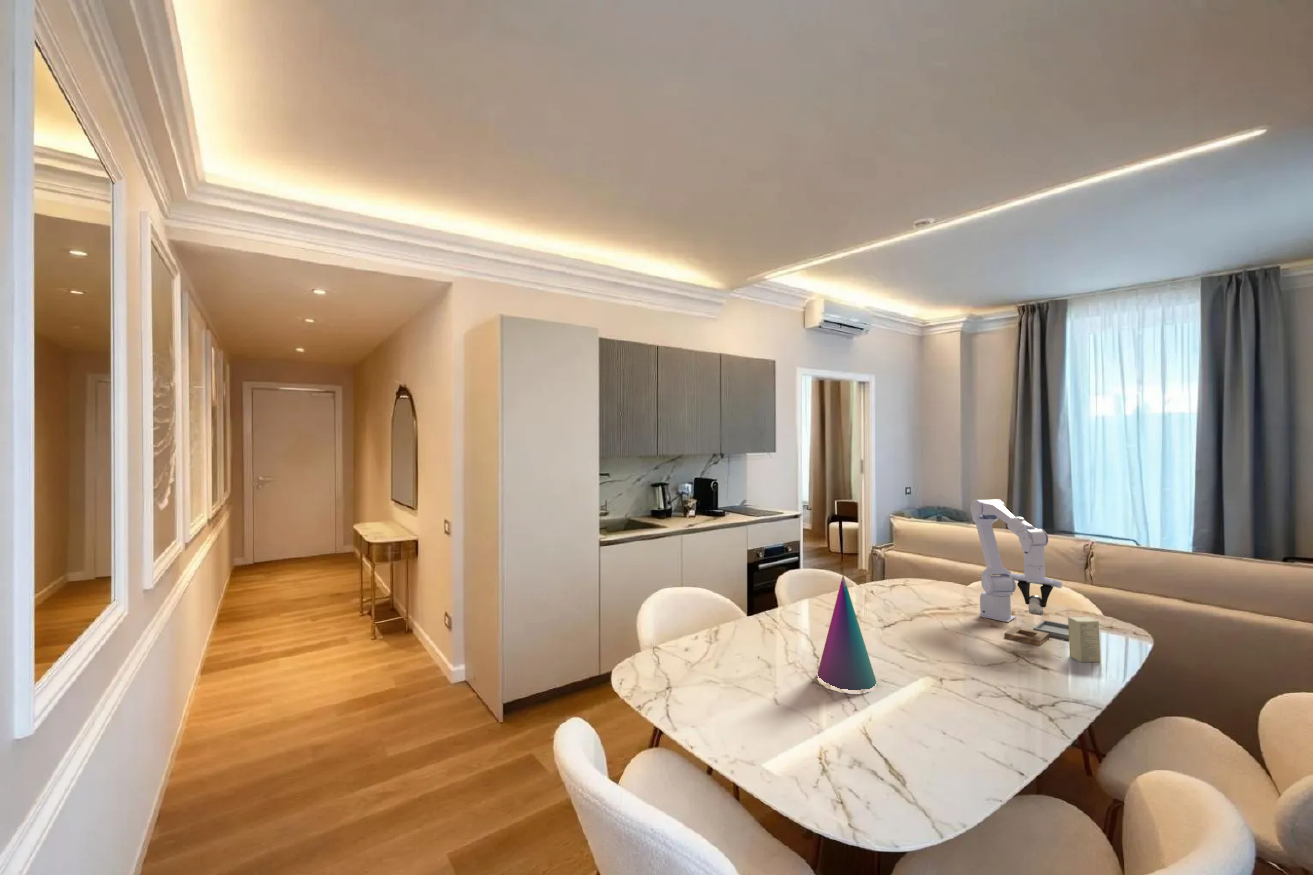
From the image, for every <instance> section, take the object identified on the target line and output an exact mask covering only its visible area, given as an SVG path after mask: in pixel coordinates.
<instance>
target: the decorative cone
mask: <svg viewBox="0 0 1313 875" xmlns="http://www.w3.org/2000/svg"><path fill="white" fill-rule="evenodd" d="M846 582H847V581H846V579H845V576H844V574H842V578H841V581H840V584H839V588H838V592H837V596H836V600H835V604H834V607H833V612H832V616H831V620H830V622H829V623H830V624H829V627H828V631H827V636H826V638H825V639H826V640H825V642H824V643H825V644H824V647H823V649H822V650H823V652H822V654H821V658H820V663H819V667H818V669H817V673H818V676H819V678H821V679H822V680H823V681H824V682H826V683H829V684H830V685H832V686H835V687H837V688H840V689H848V690H861V689H870V688H872V687H873V686H875V684H876V682H877V680H876V676H875V673H874V669H873V666H872V663H871V660H870V657H869V654H868V650H867V648H866V644H865V641H864V637H863V634H862V630H861V628H860V624H859V621H858V618H857V615H856V611H855V608H854V604H853V601H852V599H851V595H850V592H849V589H848V585H847V583H846Z"/></svg>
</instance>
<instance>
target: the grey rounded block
mask: <svg viewBox="0 0 1313 875" xmlns="http://www.w3.org/2000/svg"><path fill="white" fill-rule="evenodd" d="M1027 605H1028V613H1029V614H1032V615H1037V616H1043V615H1044V607H1042V596H1039V595H1037V594H1032V595H1030V597H1029V599H1028V604H1027Z"/></svg>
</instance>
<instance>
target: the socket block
mask: <svg viewBox="0 0 1313 875" xmlns="http://www.w3.org/2000/svg"><path fill="white" fill-rule="evenodd" d="M1003 634H1004V638H1005V637H1006V638H1005V639H1009V638H1010V639H1009V640H1014V641H1018V642H1023V643H1026V642H1027V644H1031V645H1035V646H1036V645H1037V646H1042V645H1043V644H1045V642H1047V641H1048V640H1049V639H1050V636H1049V633H1045V632H1040V631H1036V630H1033V629H1030V628H1025V627H1021V626H1016V625H1014V626H1012V627H1011V628H1009V629H1008V630H1007V631H1005V632H1004V633H1003Z"/></svg>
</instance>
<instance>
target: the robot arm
mask: <svg viewBox="0 0 1313 875" xmlns="http://www.w3.org/2000/svg"><path fill="white" fill-rule="evenodd" d="M969 509H970V514H971V518H972V521H973V522H974V523H975V525H976V530H977V534H978V538H979V543H980V546H981V550H982V554H983V557H984V562H985V565H986V568H985V569H984V570H983V571H982V572H981V573H980V575H981V576H980V577H981V582H980V583H981V587H982V589H983V591H981V593H980V595H979V613H980V614H979V617H982V618H986V619H989V620H990V619H992V620H996V621H1000V622H1005V623H1010V622H1011V621H1012V620H1014V619H1015V618H1016V616H1015V615H1012V609H1011V608H1012V601H1011V598H1012V597H1011V596H1013V593H1014V592H1016V588H1017V587H1018V589H1019V590H1020V592H1021V594H1022V596H1023V600H1024V604H1025V605H1028V599H1029V597H1030V596H1031V595H1030V593H1031V592H1030V590H1031V589H1030V588H1031V584H1034V585H1040V587H1039V589H1040V594H1041V596H1040V597H1041V599H1042V607H1043V609H1044V608H1047V604H1048V603H1047V602H1048V599H1049V597H1050V594H1051V592H1052V591H1053V589H1054V588H1056V589H1062V588H1063V581H1061V580H1056V579H1051V578H1048V577H1046V567H1045V566H1046V565H1045V563H1046V562H1045V561H1046V560H1045V546H1047V545H1048V543H1049V535H1048V533H1047V532H1046V531H1045V529H1043V528H1037V527H1035V526H1034V525H1032V524H1030V523H1029V522H1028V521H1027V520H1025V518H1024V517H1022V516H1015V514H1013V513H1012V512H1010V510H1008V509H1007V508H1006V504H1005V502H1003V500H1001V499H1000V498H996V499H995V498H994V499H973V500H972V502H971V505H970V507H969ZM999 520H1001V521H1003V522H1005V523H1006V525H1007V528H1008V530H1010V531H1011V533H1013V534H1014V535H1016V536H1017V537H1018V541H1019V543H1020V545H1021V549H1022V552H1023V569H1024V570H1023V571H1024V573H1023V574H1016V573H1012V572H1011V571H1010V570H1009V569H1007V568H1006V567H1004V565H1003V561H1002V559H1001V554H1000V550H999V546H998V542H997V539H996V536H995V535H996V534H995V531H994V528H993V525H994V523H995V522H997V521H999Z"/></svg>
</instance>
